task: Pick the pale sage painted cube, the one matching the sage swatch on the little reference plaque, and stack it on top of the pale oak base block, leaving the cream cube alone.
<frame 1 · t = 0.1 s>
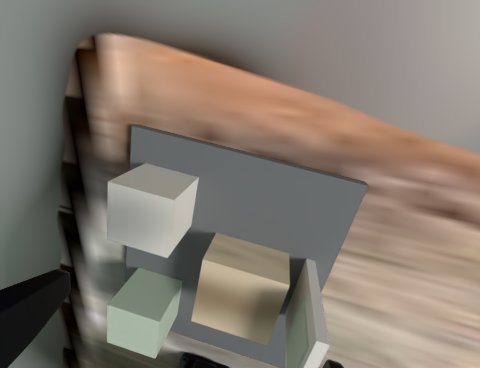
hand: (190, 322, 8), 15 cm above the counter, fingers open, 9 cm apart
sage cube: (158, 291, 27), point 1 cm above the counter, touching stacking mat
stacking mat: (222, 258, 25), on the counter
cream cube: (169, 195, 22), point 1 cm above the counter, touching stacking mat
oak base block: (244, 272, 24), point 1 cm above the counter, touching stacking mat
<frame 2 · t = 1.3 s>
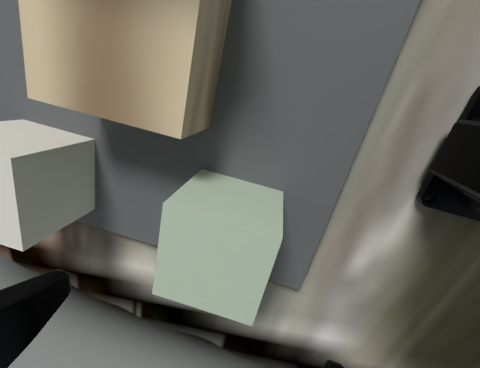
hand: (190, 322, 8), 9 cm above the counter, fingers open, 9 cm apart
sage cube: (233, 216, 15), point 1 cm above the counter, touching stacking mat
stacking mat: (161, 94, 14), on the counter
cream cube: (60, 166, 16), point 1 cm above the counter, touching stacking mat
oak base block: (156, 43, 13), point 1 cm above the counter, touching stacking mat
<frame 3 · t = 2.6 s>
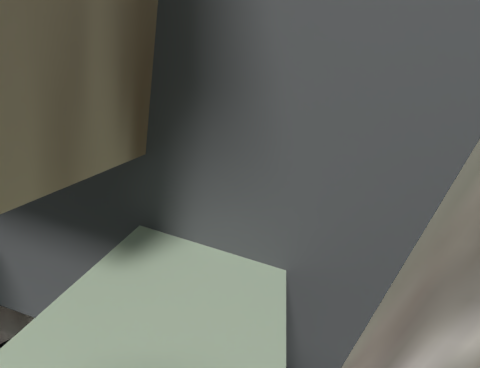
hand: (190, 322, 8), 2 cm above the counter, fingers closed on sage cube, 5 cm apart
sage cube: (198, 302, 9), point 1 cm above the counter, touching gripper, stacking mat
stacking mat: (65, 91, 8), on the counter
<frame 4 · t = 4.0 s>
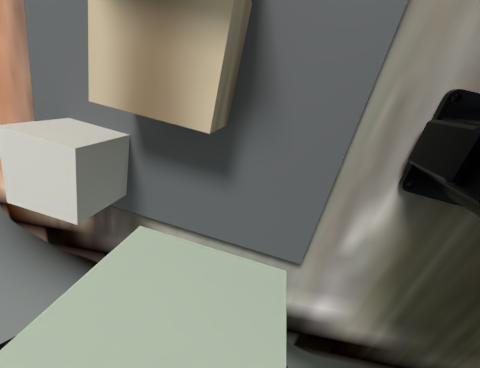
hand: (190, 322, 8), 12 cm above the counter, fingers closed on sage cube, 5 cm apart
sage cube: (198, 303, 9), point 11 cm above the counter, touching gripper
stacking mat: (186, 97, 17), on the counter
cream cube: (98, 157, 19), point 1 cm above the counter, touching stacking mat
oak base block: (185, 56, 15), point 1 cm above the counter, touching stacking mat
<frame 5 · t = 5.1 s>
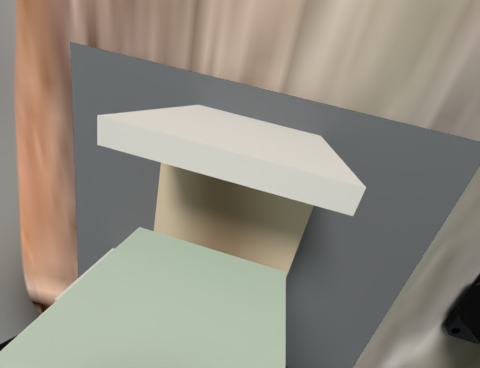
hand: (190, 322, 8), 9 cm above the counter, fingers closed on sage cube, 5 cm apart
sage cube: (198, 304, 9), point 8 cm above the counter, touching gripper
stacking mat: (230, 235, 17), on the counter
oak base block: (235, 211, 16), point 1 cm above the counter, touching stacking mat
when the fingers open (7 cm above the counter, at t = 5.9 s): sage cube drops 1 cm, resting on oak base block.
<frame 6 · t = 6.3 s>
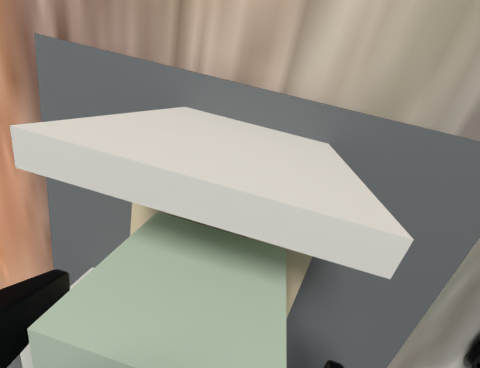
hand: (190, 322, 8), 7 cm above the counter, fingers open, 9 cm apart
sage cube: (208, 281, 10), point 5 cm above the counter, touching oak base block
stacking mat: (224, 254, 15), on the counter
oak base block: (229, 229, 14), point 1 cm above the counter, touching sage cube, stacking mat
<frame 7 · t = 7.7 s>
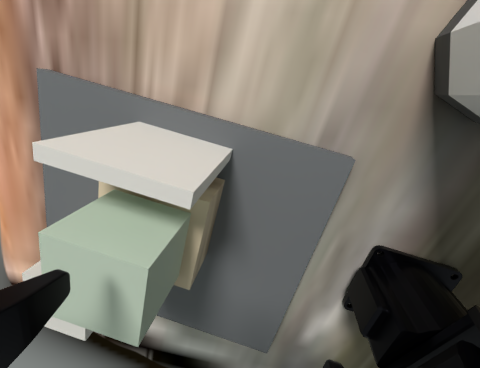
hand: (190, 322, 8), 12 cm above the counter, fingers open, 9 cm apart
sage cube: (148, 234, 16), point 5 cm above the counter, touching oak base block
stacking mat: (174, 226, 21), on the counter
cream cube: (100, 265, 23), point 1 cm above the counter, touching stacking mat
oak base block: (173, 206, 19), point 1 cm above the counter, touching sage cube, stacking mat
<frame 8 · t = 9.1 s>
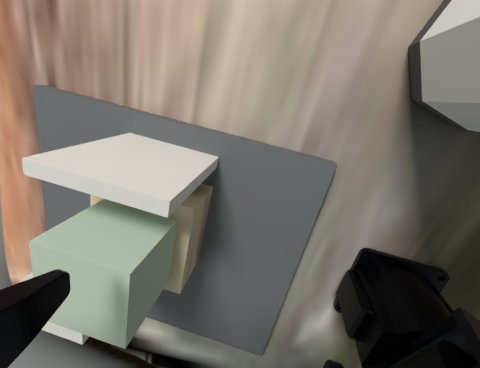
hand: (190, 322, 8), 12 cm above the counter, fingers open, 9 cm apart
sage cube: (138, 241, 16), point 5 cm above the counter, touching oak base block
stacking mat: (167, 232, 22), on the counter
wine bottle: (479, 55, 14), on the counter
cream cube: (98, 270, 24), point 1 cm above the counter, touching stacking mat
oak base block: (165, 213, 20), point 1 cm above the counter, touching sage cube, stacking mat
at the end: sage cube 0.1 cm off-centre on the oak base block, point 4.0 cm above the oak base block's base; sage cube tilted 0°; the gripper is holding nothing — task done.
